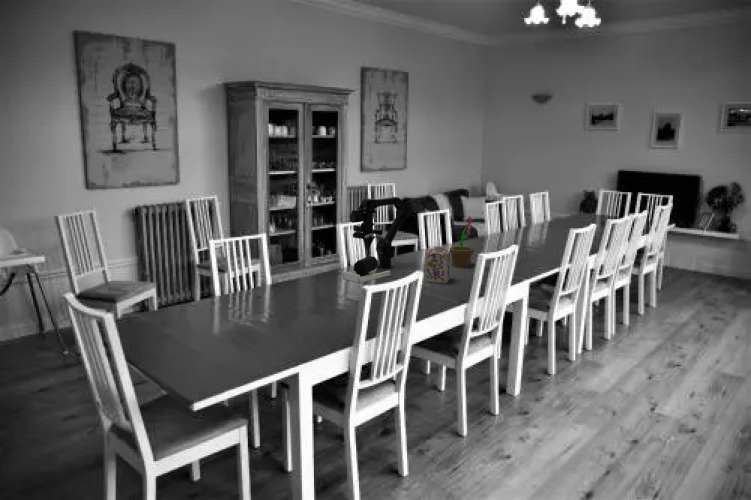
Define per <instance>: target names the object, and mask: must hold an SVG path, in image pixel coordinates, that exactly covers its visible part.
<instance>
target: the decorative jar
mask: <svg viewBox="0 0 751 500" xmlns="http://www.w3.org/2000/svg"><path fill="white" fill-rule="evenodd" d="M451 265H452V255H451V253H450V250H448V249H446V248H445V249H444V246H440V245H439V246H434V248H433V249H428V250H427V252H426V256H425V266H424V267H425V268H424V282H426V283H436V284H447V283H448V281H449V280H450V279H451Z"/></svg>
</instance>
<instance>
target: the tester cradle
mask: <svg viewBox="0 0 751 500" xmlns="http://www.w3.org/2000/svg"><path fill="white" fill-rule="evenodd" d="M376 271H377V268H376V269H375V270H373V271H370V272H369V275H366V276H362V277H360V275H357V274H356V272H355V271H354V270H350V269H349V270H348V271H345V270H344V271H342V280H346V281H350V282H353V283H357V284H360V283H366V282H368V281H373V280H377V279H381V278H384V277H385V278H386V277H390V276H391V270H386V271H383V272H382V271H381V272H378V273H376Z"/></svg>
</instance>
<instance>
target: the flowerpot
mask: <svg viewBox="0 0 751 500" xmlns="http://www.w3.org/2000/svg"><path fill="white" fill-rule="evenodd" d="M467 220H468V222H467V223H466V226H465V228H464V230H463V231H462V233H461V238H460V241H459V242H458V245H455V246H454V245H453V246H450V247H449V251H450V253H451V265H452V267H454V268H460V269H461V268H464V269H465V268H470V265H471V261H472V260H471V259H472V254H474V251H475V250H474V248H473V247H470V246H464V245H463V243H464V242H463V241H464V240H467V238H469V237H470V236H471V230H472V228H473V226H472V220H473V219H472V216H470V215H468V219H467ZM465 232H466V233H465Z"/></svg>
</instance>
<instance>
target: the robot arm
mask: <svg viewBox="0 0 751 500" xmlns="http://www.w3.org/2000/svg"><path fill="white" fill-rule="evenodd" d="M392 205H393V206H394V208H395V209H396V211H395V217H394V220H393V221H392V224H391V225H390V227H389V229H388V230H387V233H386V234H385V235H384V238H383V239H379V240H378V242H377V244H376V247H375V252H376V253H377V255H378V257H379V265H378V267H377V268H382V269H391V268H394V266H393V265H392V258H393V259H394V257H395V256H394V255H395V253H394V252H393V251H392V250H391V249H392V245H393V241H394V238H395V237H396V235H397V234H398V232H399V229H400V228H401V226H402V224H403V223H404V221H405V220H406V219H407V218H409V217H410V216H411V214H412V212H413V210H412V207H411V206H410V205H408V204H407V203H406V202H405V201H403V200H402V199H401V198H400V197H398V196H392V197H385V198H383V197H382V198H377V199H376V198H375V199H374V198H363V199H362V201H361V203H360V205H359V206H358V208H357V209H356V210H355V209H352V210H351V212H350V215H349V221H350V222H351V223H352V224H353V223H360V225H358V224H355V225H353V227H352V230H353V232H352V238H353V239H360V240H361V239H362V241H363V243H364V246H365V248H366V250H369V249H370V248H371V246H372V243H373V242H374V240H375V238H376V236H375V235H378V236H383V230H382V229H378V228H374V226H375V223H374V214H377V213H378V212H377V210H375V209H377V208H378V207H382V206H383V207H385V206H392Z"/></svg>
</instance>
